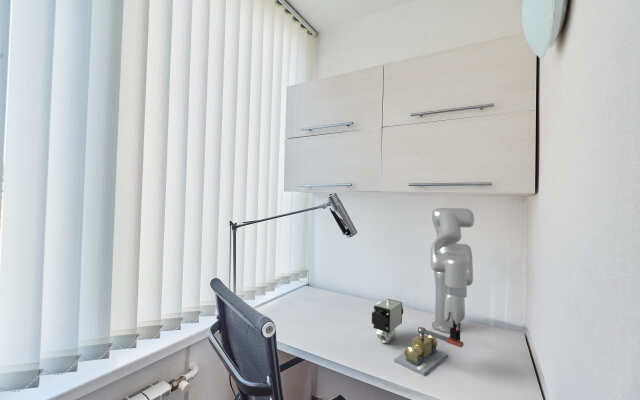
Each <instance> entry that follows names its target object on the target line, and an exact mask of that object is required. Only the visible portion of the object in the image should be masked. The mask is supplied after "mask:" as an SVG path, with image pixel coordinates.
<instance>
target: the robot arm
mask: <svg viewBox="0 0 640 400" xmlns="http://www.w3.org/2000/svg"><path fill="white" fill-rule="evenodd" d="M431 221H432V225H433V227H434V229H435V233H436V239H434V241H433V242H432V244H431V246H430V252H429V253H430V254H429V255H430V259H429V260H430V267H431V269H432V271H433V274H434V275H433V276H434V284H435V306H434V307H435V308H434V310H435V317H434V319H435V320H434V321H432V323H431V327H432V328H433V329H435V330H436V331H438V332H442V333H444V334H445V333H447V334H449V337H450V338H453V339H456V340H459V341H461V325H462V324H461V323H462V321H463V320H464V319H465V316H466V314H465V313H466V306H465V305H466V303H465V298H467V295H468V293H467V290H468V286H472V284H473V280H474V269H473V268H474V265H473V251H472V247H471V246H470V245H468V244H467V243H459V242H460V241H461V239H462V231H461V230H462V229H461V228H472V227H473V226H474V224H475V216H474V213H473V212H472V210H471V209H470V208H465V207H464V208H457V207H454V208H453V207H438V208H434V209H433V210H432V212H431Z"/></svg>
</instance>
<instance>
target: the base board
mask: <svg viewBox="0 0 640 400" xmlns="http://www.w3.org/2000/svg"><path fill="white" fill-rule="evenodd" d="M447 358H448V353H446V352H444V351H443V350H442V351H441V350H438V349H436V353H435V354H434V355H432V354H429V355H427V356H426V357H425V358H424V357H422V364H420V365H419V366H417V365H415V364H412V363H410V362H408V361H406V357H405V353H404V352H402V353H401V354H399V355H398V356H396V357H395V358H393V362H394V363H396V364H398V365H401V366H402V367H405V368H407V369H409V370H411V371H413V372H415V373H417V374H419V375H422V376H423V377H424V376H426V375H427V374H428V373H430V372H431V371H432V370H433V369H434V368H436V367H437V366H438V365H439V364H440V363H442V362H443V361H444V360H445V359H447Z"/></svg>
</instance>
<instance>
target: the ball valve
mask: <svg viewBox="0 0 640 400" xmlns="http://www.w3.org/2000/svg"><path fill="white" fill-rule="evenodd" d="M403 314H404V308H403V302H402V301H399V300H394V299H390V298H386V299H385V300H383V301H378V302H377V303H376V305H374V306H373V311H372V312H371V325H373V329H375V330H376V337H377V338H379V341H380V342H381V343H383V344H388V343H389V342H391V341H392V340H394V338H395V337H396V336H397V332H396V328H397V327H398V326H400V325H402V323H403Z"/></svg>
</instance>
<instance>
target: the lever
mask: <svg viewBox="0 0 640 400" xmlns="http://www.w3.org/2000/svg"><path fill="white" fill-rule="evenodd" d="M417 332H418V334H419V333H421V334H424V335H425V336H427V335H429V336H432V337H435V338H436V340H437V339H438V340H441V341H444V342H446V343H447V344H449V345H451V346H452V345H453V346H455V347H458V348H463V346H464V341H462V340H460V341H459V340H456V339H453V338H450V336H449V337H448V336H445V335H442V334H441V333H440V334H439V333H437V332H433V331H431V330H428V329H426V328H425V327H423V326H419V327H418V328H417Z"/></svg>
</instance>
